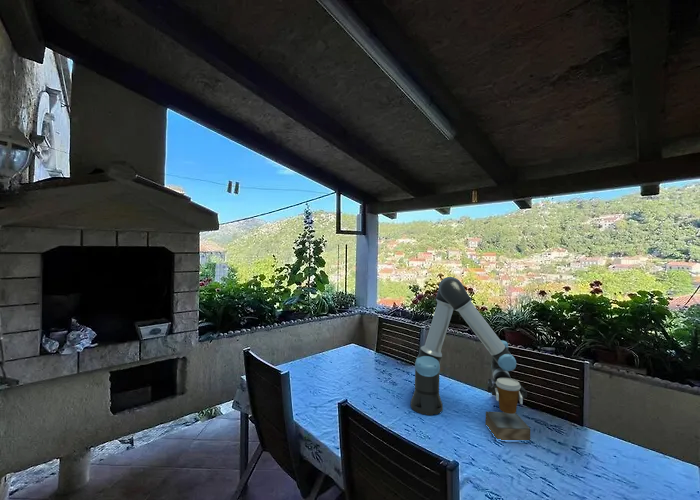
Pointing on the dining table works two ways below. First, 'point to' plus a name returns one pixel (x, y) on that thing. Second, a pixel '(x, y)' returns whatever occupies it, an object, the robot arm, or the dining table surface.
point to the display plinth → (507, 426)
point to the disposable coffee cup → (508, 394)
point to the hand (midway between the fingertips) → (509, 399)
